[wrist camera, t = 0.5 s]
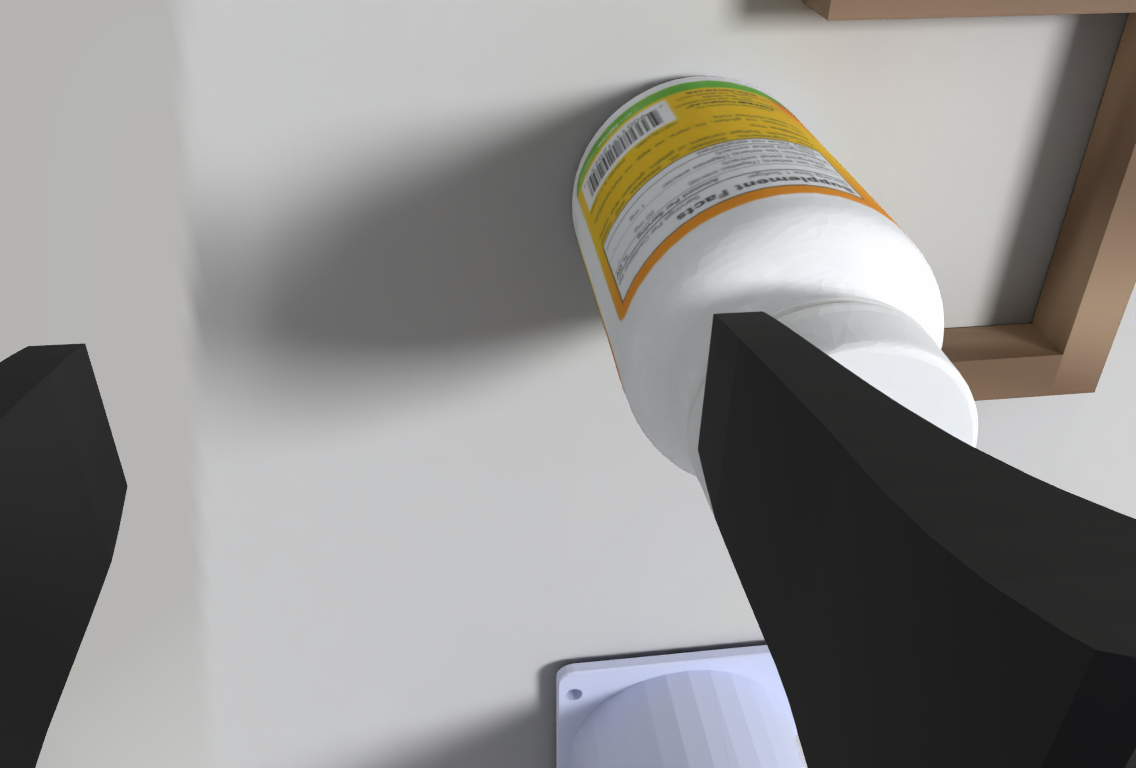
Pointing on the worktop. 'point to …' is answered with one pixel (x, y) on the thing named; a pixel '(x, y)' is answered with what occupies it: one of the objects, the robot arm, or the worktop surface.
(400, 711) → the worktop surface
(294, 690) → the worktop surface
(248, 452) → the worktop surface
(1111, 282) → the walnut stop
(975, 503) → the robot arm
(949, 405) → the supplement bottle
